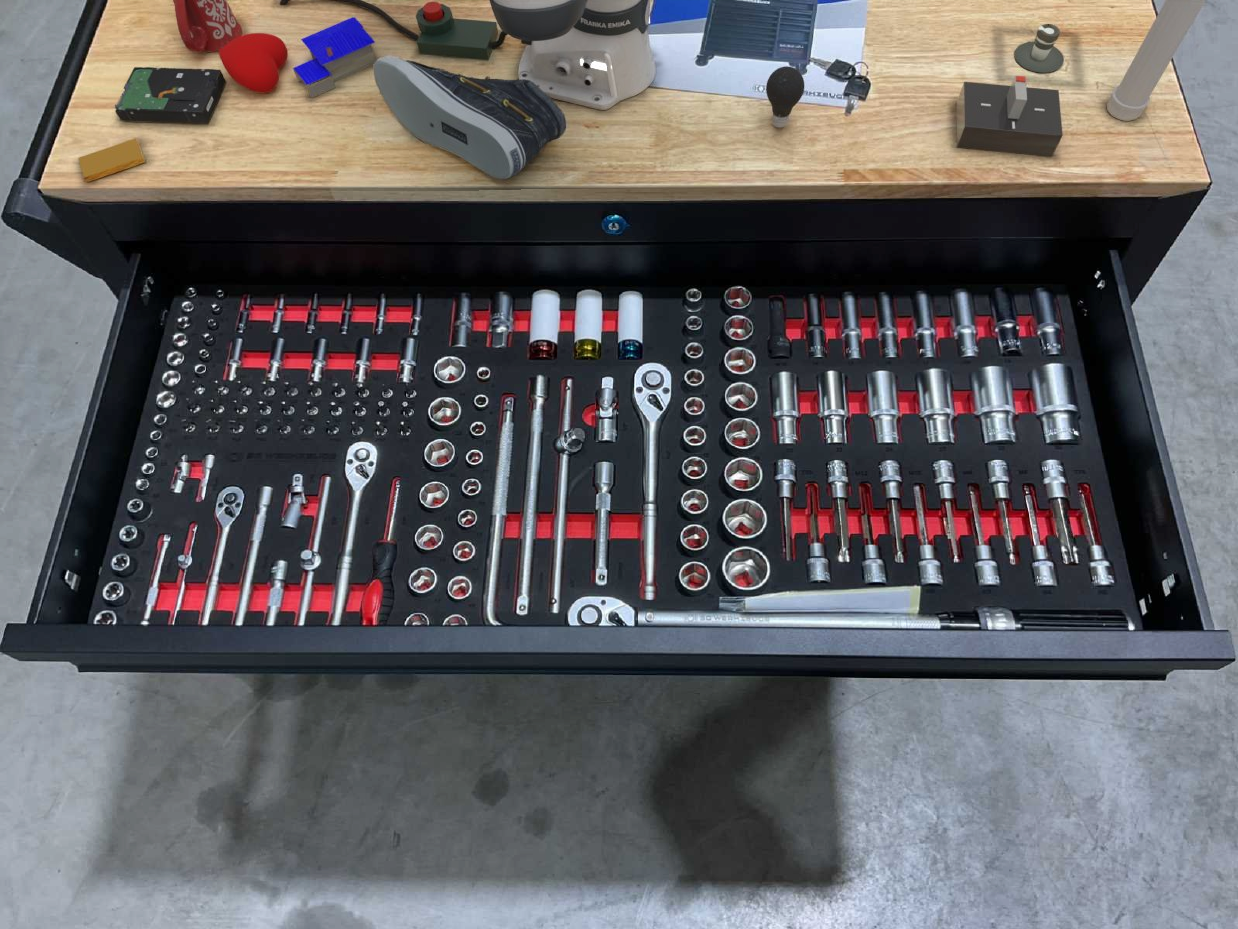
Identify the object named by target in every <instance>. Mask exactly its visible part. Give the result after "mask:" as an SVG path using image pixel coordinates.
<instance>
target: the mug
mask: <svg viewBox="0 0 1238 929" xmlns="http://www.w3.org/2000/svg"><path fill="white" fill-rule="evenodd" d="M172 3H173V5H174V13H175V20H176V24H177V29H178V32H179V35H180V39H181V41H182V42H183V44H184V46H185V47H186V49H187V50H188V51H189V52H193V53H194V52H195V53H201V52H206V53H215V52H219V50H220V49H222V48H223V47H224V46H225V45H227V44H228V43H229V42H231V41H233V40H234V39H236V38H238V37H240V36H242V35H243V28H242V26H241V24H240V23H239V22H238V20H237V18H236V17H235V14H234V12H233V10H232V8H231V6H230V4H229V2H228V0H172Z"/></svg>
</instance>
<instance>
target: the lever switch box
mask: <svg viewBox="0 0 1238 929" xmlns="http://www.w3.org/2000/svg"><path fill="white" fill-rule="evenodd" d="M1010 87H1011V85H1007V84H993V83H984V82H983V83H982V82H974V81H972V82H971V81H964V82H963V84H962V86H961V89H960V92H959V95H958V98H957V101H956V104H955V105H956V108H955V109H956V110H955V111H956V148H957V149H966V150H967V149H968V150H978V151H979V150H980V151H989V152H1000V153H1007V154H1020V155H1029V156H1040V157H1051V158H1052V157H1053V156H1054V154H1055V152H1056V149H1057V148H1058V146H1059V144H1060V142H1061V139H1062V138H1063V124H1062V123H1063V122H1062V114H1061V113H1062V112H1061V102H1060V93H1059V91H1060V90H1058V89H1051V88H1040V87H1030V86H1029V87H1028V86H1026V90H1027V101H1026V104H1025V106H1024V108H1023V110H1022V113H1021V115H1020V117H1019V119H1010V118H1008V114H1007V94H1008V91H1009V89H1010Z"/></svg>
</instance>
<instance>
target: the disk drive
mask: <svg viewBox="0 0 1238 929" xmlns="http://www.w3.org/2000/svg"><path fill="white" fill-rule="evenodd" d="M226 84H227V79H226V78H225V76H224V74H223V72H222V70H221V69H216V68H215V69H214V68H184V67H183V68H180V67H151V66H144V67H141V66H134V67H133V69H132V70H131V73H130V75H129V77H128V79H127V81H126V83H125V84H124V86H123V91H122V92H121V95H120V96H119V98H118V101H117V103H116V104H114V108H115V114H116V115H117V117H118V118H119V121H124V122H139V123H166V124H167V123H169V124H200V125H201V124H209V122H210V120H211V118H212V116H213V114H214V112H215V109H216V107H217V105H218V102H219V101H220V98H221V95H222V93H223V91H224V89H225V85H226Z"/></svg>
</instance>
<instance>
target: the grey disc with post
mask: <svg viewBox="0 0 1238 929" xmlns="http://www.w3.org/2000/svg"><path fill="white" fill-rule="evenodd" d="M1060 34H1061V30H1060V28H1059V27H1058V26H1057V25H1054V24H1052V23H1044V24H1042V25H1040V26H1039V27H1038V30H1037V31H1036V35H1035V38H1034V40H1033V41H1027V42H1023V43H1021V44H1019V45H1018V46H1017V47H1016V48H1015V50H1014V59H1015V61H1016V63H1017V64H1018V65H1019V66H1021V67H1022V68H1023V69H1025V70H1027V71H1029V72H1032V73H1039V74H1047V73H1052V72H1055V71H1057V70H1059V69H1060V68H1061V67H1062V66H1063V65H1064V62H1065V58H1064V55H1063V53H1062V51H1061V50H1060V49H1058V48H1057V47H1056V46H1055V44H1056V42H1057V40H1058V39H1059V38H1060Z"/></svg>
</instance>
